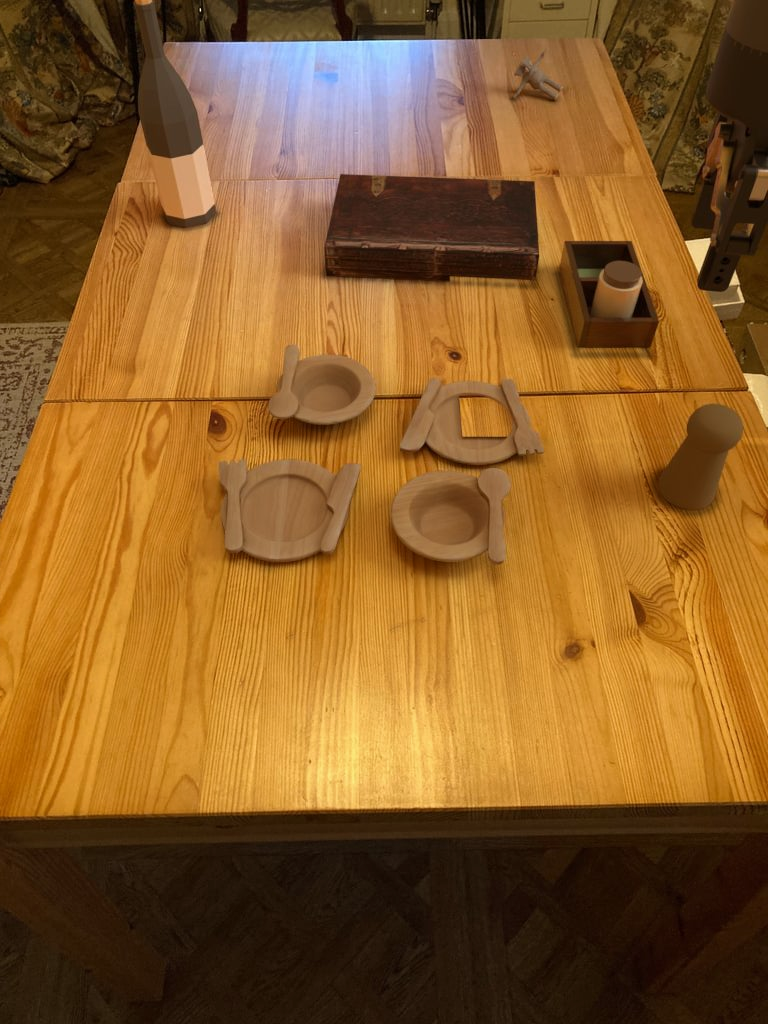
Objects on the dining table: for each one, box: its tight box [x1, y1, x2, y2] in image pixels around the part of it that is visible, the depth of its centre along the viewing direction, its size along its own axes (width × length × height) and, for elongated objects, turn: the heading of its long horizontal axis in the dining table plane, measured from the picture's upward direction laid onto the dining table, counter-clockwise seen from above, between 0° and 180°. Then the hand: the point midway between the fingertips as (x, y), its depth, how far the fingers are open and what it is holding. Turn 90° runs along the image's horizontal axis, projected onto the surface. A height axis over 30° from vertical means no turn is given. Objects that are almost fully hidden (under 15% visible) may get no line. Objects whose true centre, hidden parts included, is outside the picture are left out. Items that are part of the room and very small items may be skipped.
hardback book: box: [324, 173, 540, 282], centre depth 111 cm, size 29×19×5 cm, turn 85°
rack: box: [559, 240, 660, 349], centre depth 101 cm, size 9×17×5 cm, turn 0°
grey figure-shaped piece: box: [512, 48, 564, 101], centre depth 141 cm, size 10×6×9 cm
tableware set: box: [218, 344, 545, 565], centre depth 84 cm, size 35×29×4 cm
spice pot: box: [589, 261, 643, 318], centre depth 96 cm, size 5×5×8 cm
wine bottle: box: [133, 0, 216, 229], centre depth 106 cm, size 8×8×30 cm
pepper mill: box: [657, 403, 744, 511], centre depth 79 cm, size 6×6×11 cm
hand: (707, 255), depth 60 cm, fingers open, 8 cm apart
